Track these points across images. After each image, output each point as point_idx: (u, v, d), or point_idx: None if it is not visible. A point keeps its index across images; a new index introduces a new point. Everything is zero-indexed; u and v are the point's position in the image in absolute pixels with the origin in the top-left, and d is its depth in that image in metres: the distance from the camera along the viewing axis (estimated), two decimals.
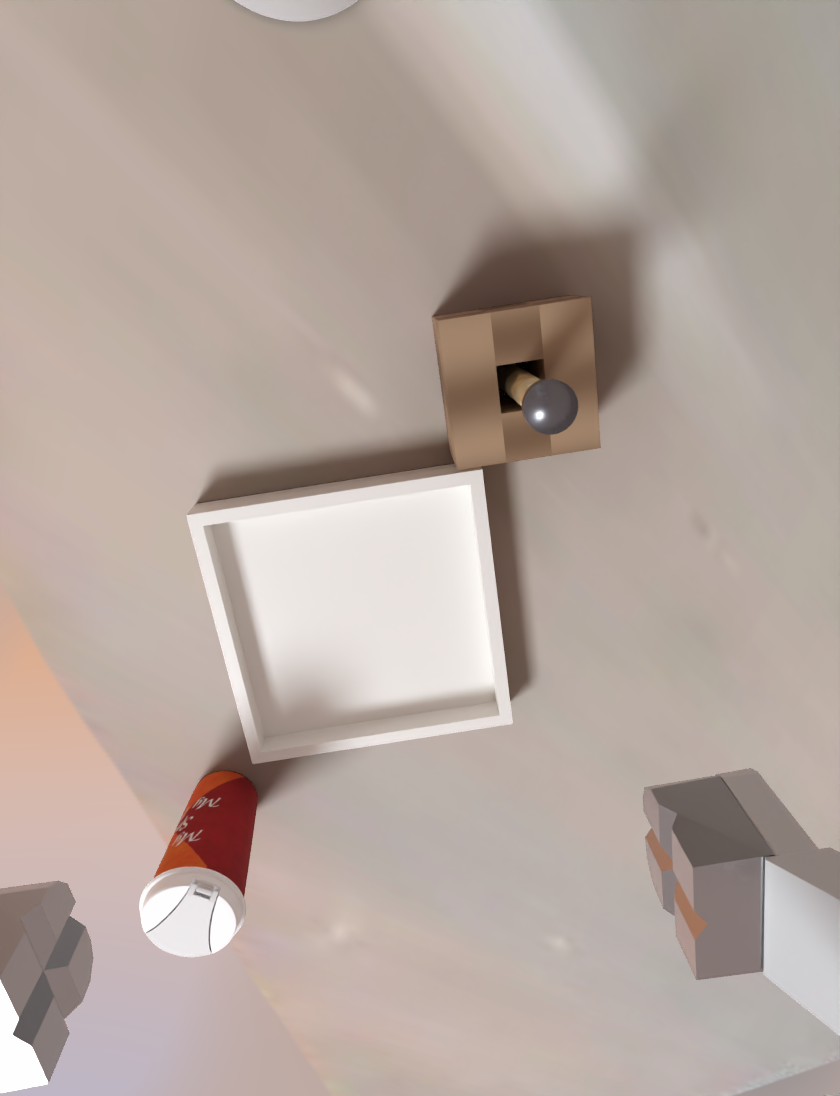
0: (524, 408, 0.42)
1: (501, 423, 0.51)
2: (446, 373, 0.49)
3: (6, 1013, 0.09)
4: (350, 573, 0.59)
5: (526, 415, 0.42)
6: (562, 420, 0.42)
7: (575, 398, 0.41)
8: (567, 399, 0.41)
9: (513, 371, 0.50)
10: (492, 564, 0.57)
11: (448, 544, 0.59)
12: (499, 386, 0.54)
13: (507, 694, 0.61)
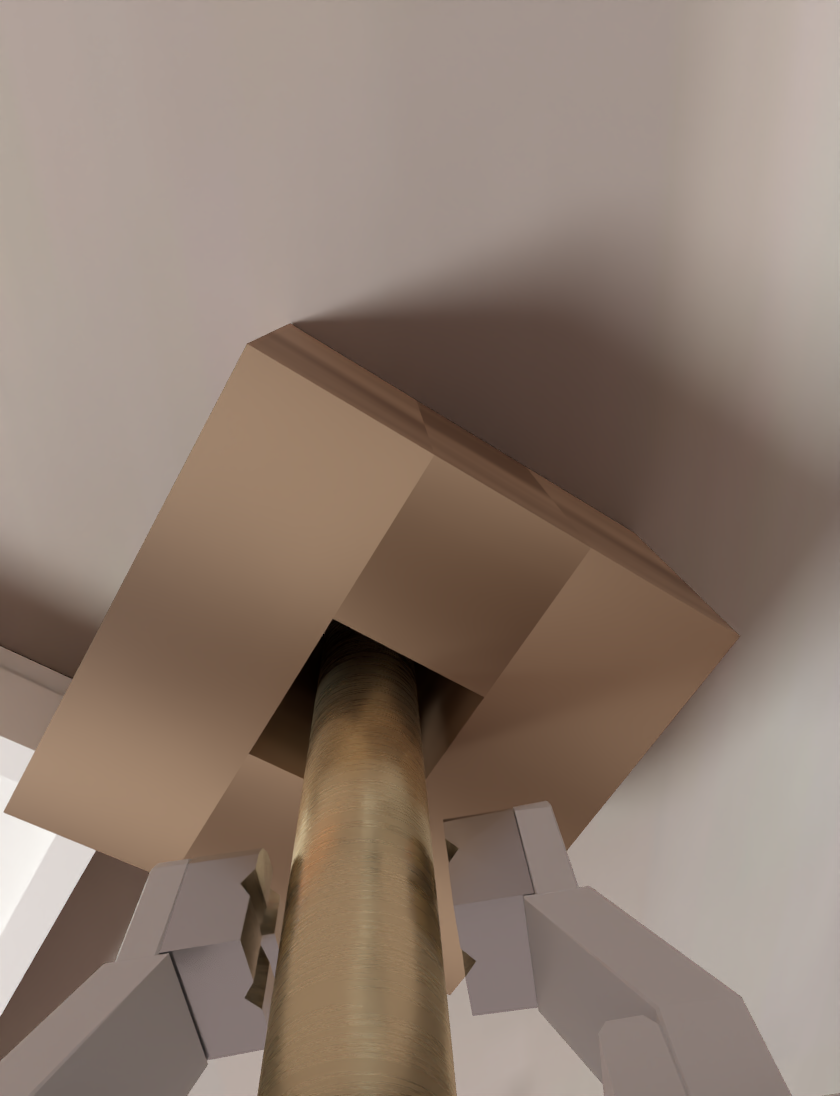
0: None
1: (230, 778, 0.14)
2: (157, 527, 0.12)
3: (242, 975, 0.09)
4: None
5: None
6: None
7: None
8: None
9: (376, 655, 0.14)
10: (5, 1000, 0.20)
11: None
12: None
13: None
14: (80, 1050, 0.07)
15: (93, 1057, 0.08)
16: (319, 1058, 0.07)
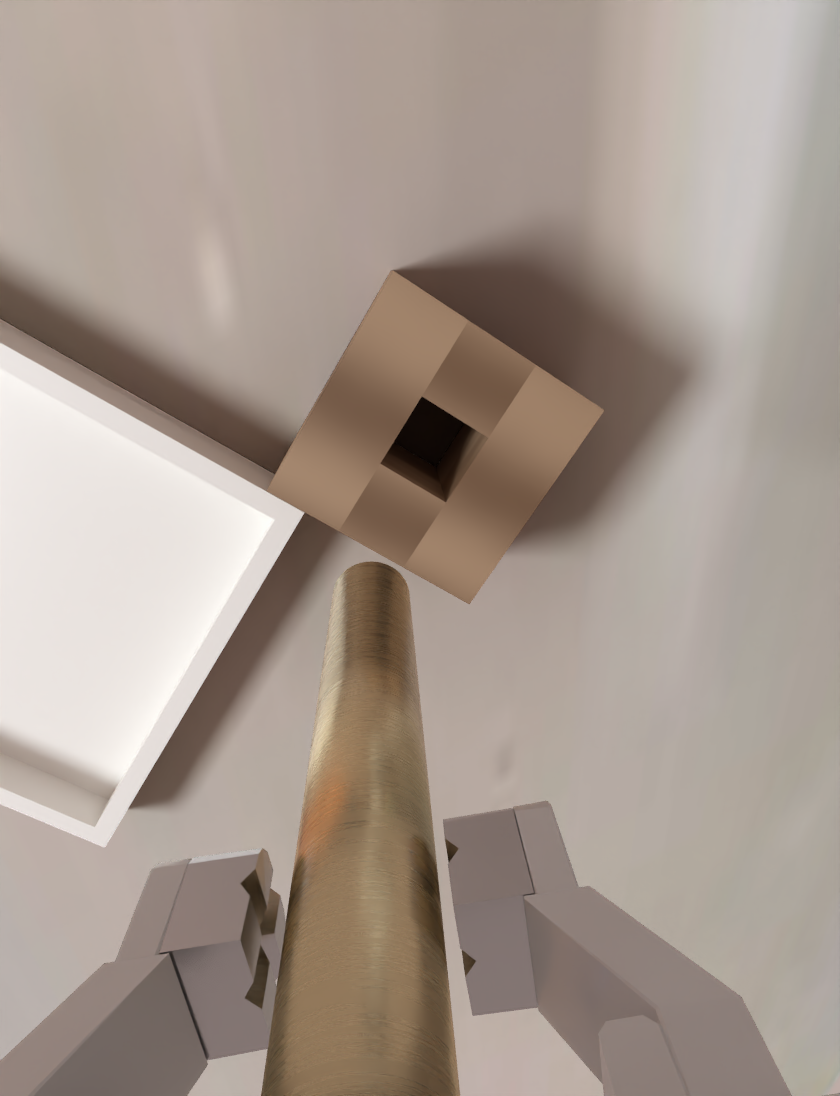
0: None
1: (371, 476, 0.31)
2: (349, 350, 0.29)
3: (243, 974, 0.09)
4: (27, 509, 0.36)
5: None
6: None
7: None
8: None
9: (378, 655, 0.14)
10: (226, 639, 0.36)
11: (192, 570, 0.37)
12: None
13: (124, 808, 0.39)
14: (81, 1050, 0.07)
15: (93, 1057, 0.08)
16: (323, 1058, 0.07)
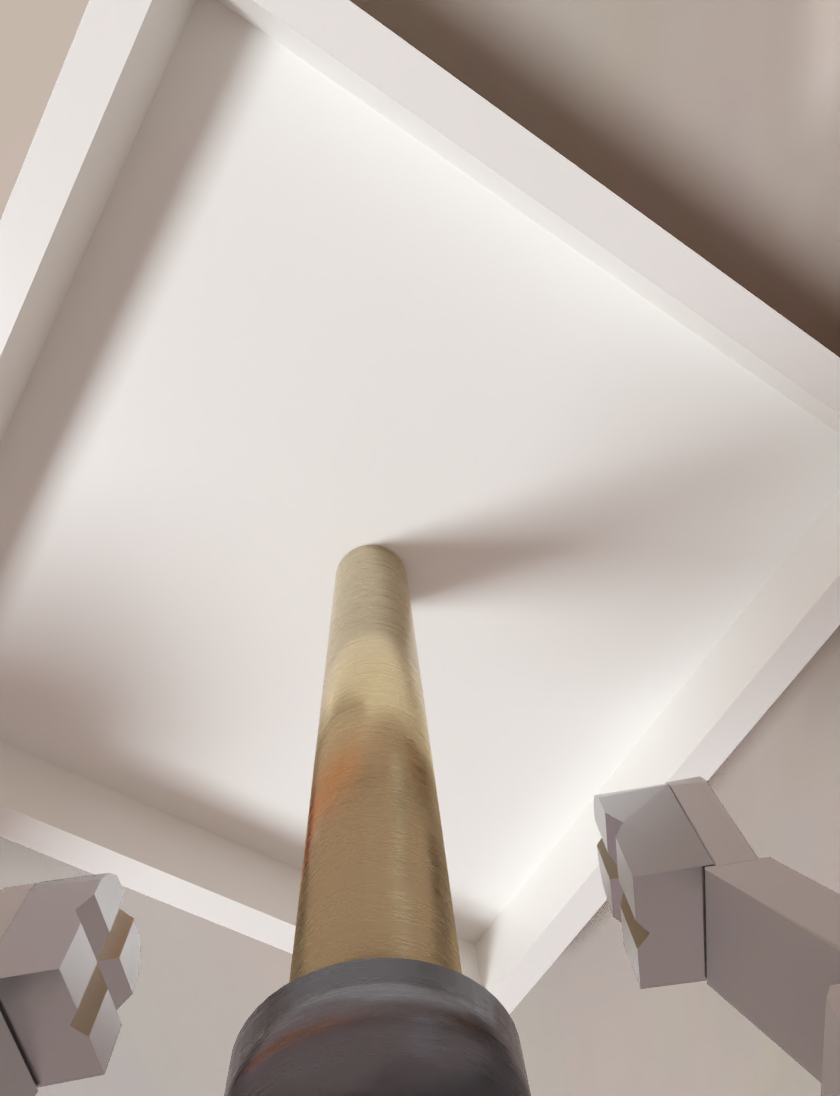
0: (242, 1095, 0.07)
1: None
2: None
3: (64, 1003, 0.09)
4: (432, 463, 0.20)
5: None
6: None
7: None
8: None
9: (381, 622, 0.16)
10: (778, 692, 0.20)
11: (691, 570, 0.21)
12: None
13: (538, 973, 0.23)
14: None
15: None
16: (345, 921, 0.08)
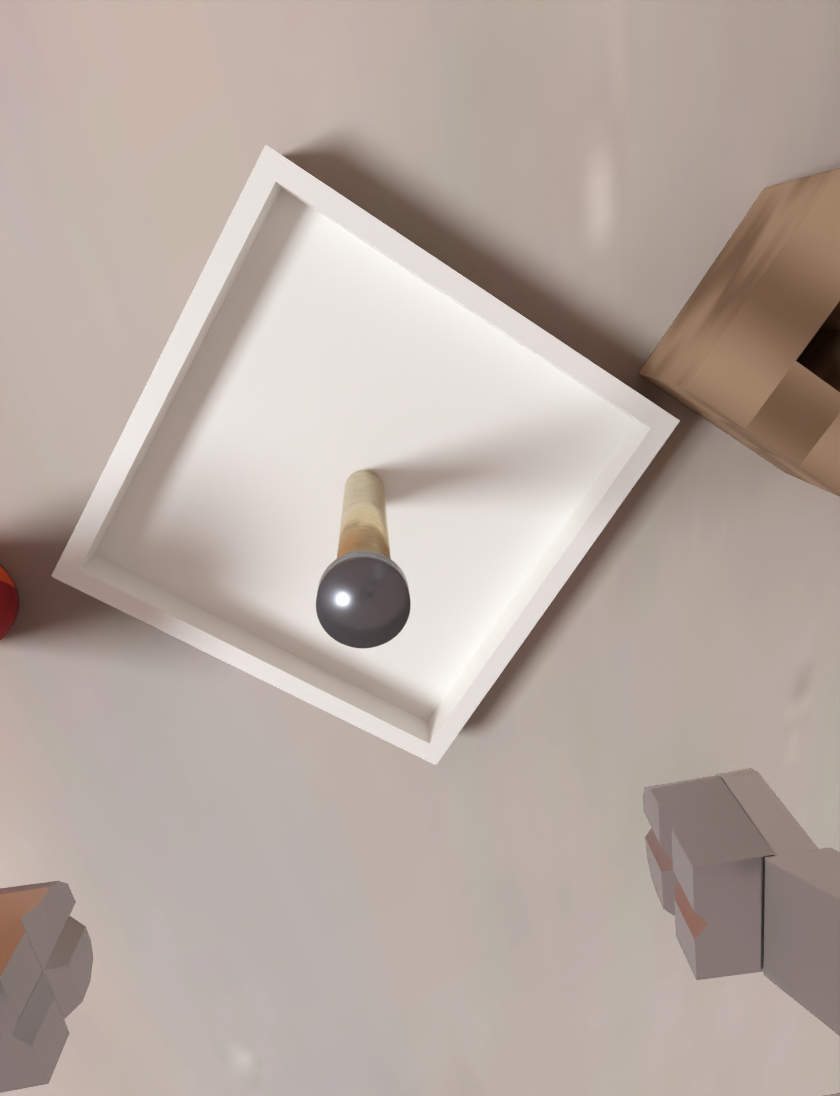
0: (325, 577, 0.23)
1: (785, 373, 0.32)
2: (786, 247, 0.30)
3: (6, 1012, 0.09)
4: (397, 424, 0.37)
5: (320, 589, 0.23)
6: (365, 633, 0.24)
7: (405, 617, 0.24)
8: (393, 609, 0.24)
9: (368, 495, 0.33)
10: (586, 549, 0.37)
11: (542, 485, 0.38)
12: None
13: (461, 724, 0.40)
14: None
15: None
16: None
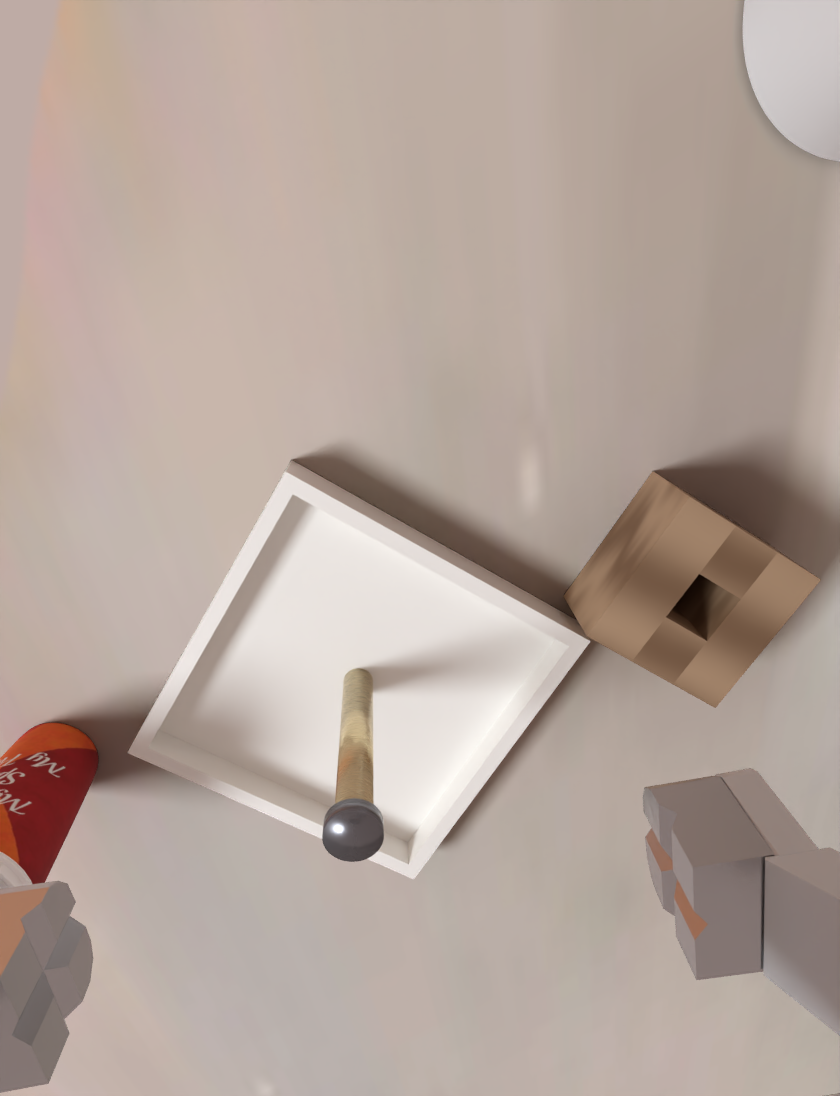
0: (328, 820, 0.36)
1: (658, 625, 0.44)
2: (654, 546, 0.43)
3: (6, 1013, 0.09)
4: (382, 637, 0.50)
5: (325, 828, 0.36)
6: (354, 852, 0.37)
7: (380, 843, 0.37)
8: (372, 838, 0.37)
9: (359, 709, 0.45)
10: (523, 728, 0.50)
11: (492, 676, 0.51)
12: None
13: (432, 850, 0.53)
14: None
15: None
16: (347, 794, 0.38)
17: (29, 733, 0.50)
